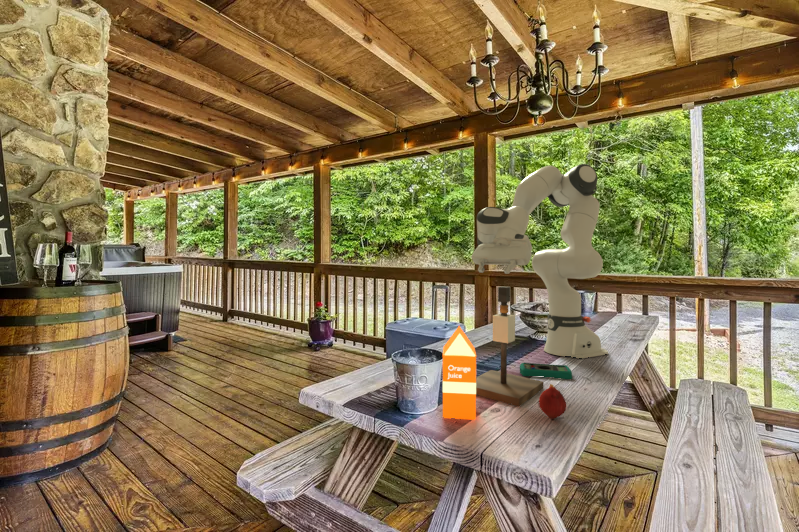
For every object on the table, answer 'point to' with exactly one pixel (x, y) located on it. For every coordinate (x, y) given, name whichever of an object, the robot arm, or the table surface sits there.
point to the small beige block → (504, 328)
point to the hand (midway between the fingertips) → (492, 271)
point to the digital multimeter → (545, 370)
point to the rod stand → (502, 383)
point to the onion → (552, 402)
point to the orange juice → (459, 377)
